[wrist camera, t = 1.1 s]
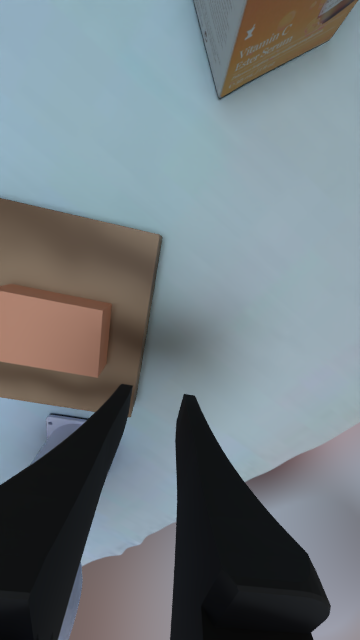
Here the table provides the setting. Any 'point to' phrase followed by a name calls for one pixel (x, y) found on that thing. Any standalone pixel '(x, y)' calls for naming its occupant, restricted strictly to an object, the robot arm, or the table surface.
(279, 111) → the table surface
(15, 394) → the brown flat wooden slab
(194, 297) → the table surface
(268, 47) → the small box
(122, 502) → the table surface
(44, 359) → the block
